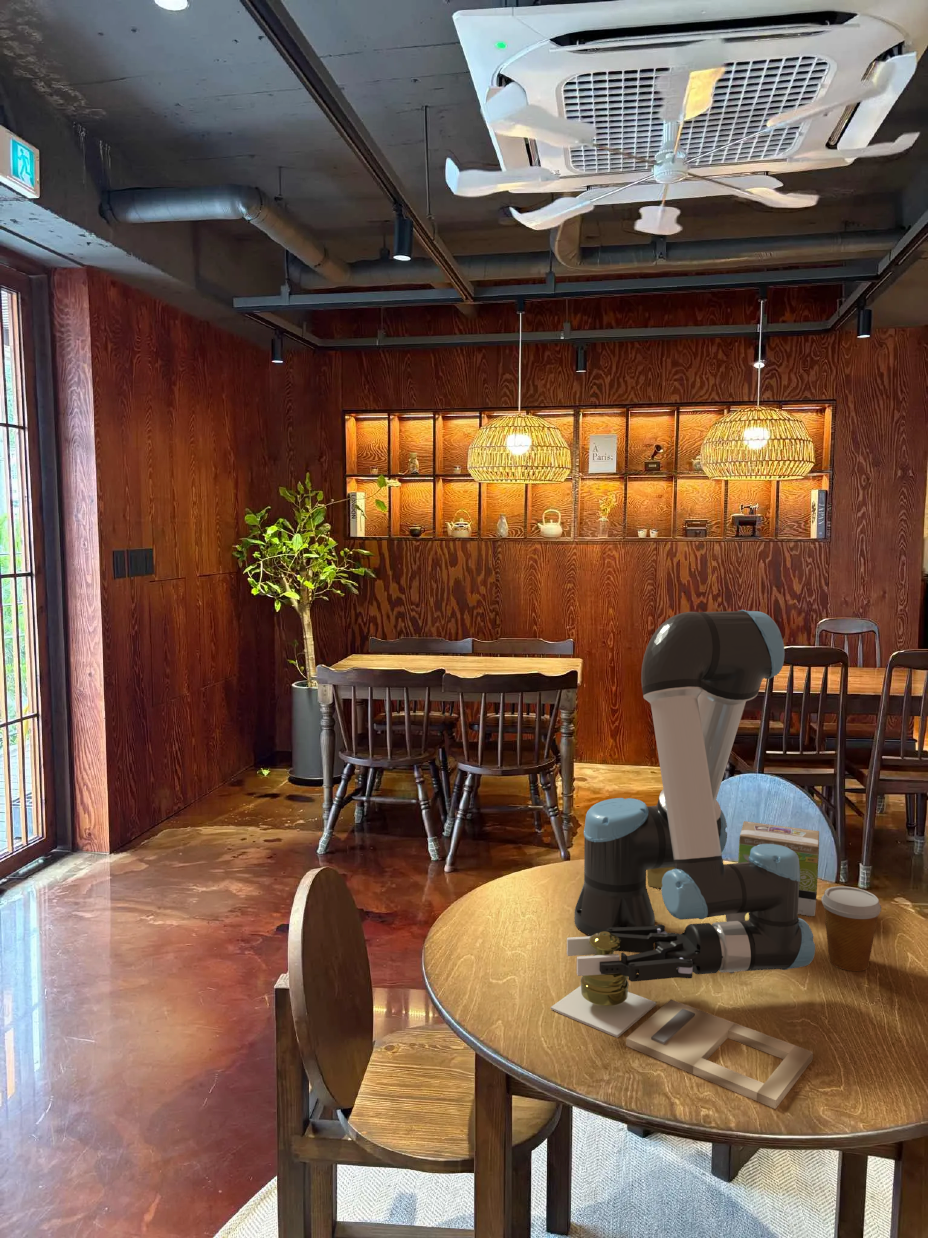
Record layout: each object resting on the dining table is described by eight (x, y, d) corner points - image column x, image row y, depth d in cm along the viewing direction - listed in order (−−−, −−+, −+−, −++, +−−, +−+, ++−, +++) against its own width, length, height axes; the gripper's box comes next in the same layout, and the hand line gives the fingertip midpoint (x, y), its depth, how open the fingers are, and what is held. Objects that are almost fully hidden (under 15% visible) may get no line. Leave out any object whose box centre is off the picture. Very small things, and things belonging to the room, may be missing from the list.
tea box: (735, 906, 177) (737, 834, 175) (740, 887, 186) (742, 819, 184) (816, 918, 171) (819, 844, 169) (816, 898, 180) (819, 828, 179)
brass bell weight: (573, 986, 141) (573, 926, 140) (616, 980, 143) (617, 921, 142) (591, 1010, 134) (592, 947, 133) (636, 1003, 136) (637, 941, 135)
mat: (550, 1009, 138) (550, 1007, 138) (591, 980, 147) (591, 978, 147) (617, 1038, 130) (617, 1035, 130) (656, 1004, 140) (656, 1002, 140)
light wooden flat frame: (625, 1046, 128) (626, 1035, 128) (670, 1006, 139) (670, 997, 139) (775, 1109, 114) (775, 1097, 114) (812, 1060, 125) (812, 1049, 125)
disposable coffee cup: (885, 979, 148) (888, 910, 146) (824, 973, 150) (827, 905, 148) (870, 952, 157) (873, 887, 156) (814, 947, 159) (816, 883, 158)
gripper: (739, 1001, 131) (587, 1011, 128) (692, 943, 150) (558, 951, 147) (740, 952, 130) (588, 962, 128) (692, 901, 149) (558, 908, 146)
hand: (572, 956), depth 137 cm, fingers closed on brass bell weight, 6 cm apart
